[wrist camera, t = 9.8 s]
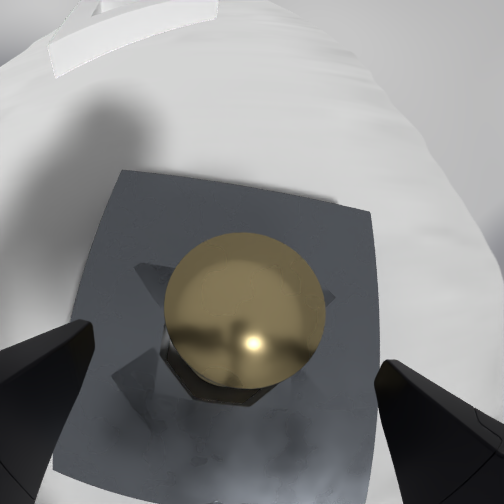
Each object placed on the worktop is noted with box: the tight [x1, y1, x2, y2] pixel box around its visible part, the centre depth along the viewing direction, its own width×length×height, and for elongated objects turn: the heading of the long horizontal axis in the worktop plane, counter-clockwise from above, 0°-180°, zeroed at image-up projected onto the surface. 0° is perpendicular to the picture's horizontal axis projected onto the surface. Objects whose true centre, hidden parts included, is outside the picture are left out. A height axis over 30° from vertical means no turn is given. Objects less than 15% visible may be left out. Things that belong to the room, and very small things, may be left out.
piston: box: [164, 232, 326, 389], centre depth 13 cm, size 5×5×10 cm
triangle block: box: [47, 0, 219, 79], centre depth 31 cm, size 30×26×6 cm
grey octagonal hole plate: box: [53, 170, 380, 504], centre depth 16 cm, size 20×18×3 cm
